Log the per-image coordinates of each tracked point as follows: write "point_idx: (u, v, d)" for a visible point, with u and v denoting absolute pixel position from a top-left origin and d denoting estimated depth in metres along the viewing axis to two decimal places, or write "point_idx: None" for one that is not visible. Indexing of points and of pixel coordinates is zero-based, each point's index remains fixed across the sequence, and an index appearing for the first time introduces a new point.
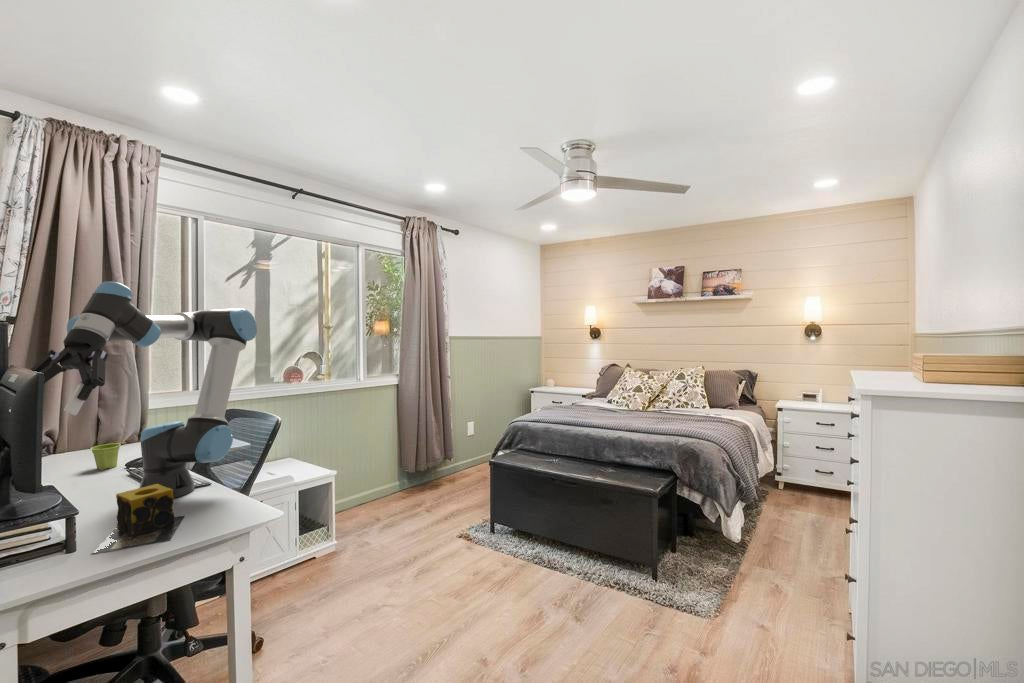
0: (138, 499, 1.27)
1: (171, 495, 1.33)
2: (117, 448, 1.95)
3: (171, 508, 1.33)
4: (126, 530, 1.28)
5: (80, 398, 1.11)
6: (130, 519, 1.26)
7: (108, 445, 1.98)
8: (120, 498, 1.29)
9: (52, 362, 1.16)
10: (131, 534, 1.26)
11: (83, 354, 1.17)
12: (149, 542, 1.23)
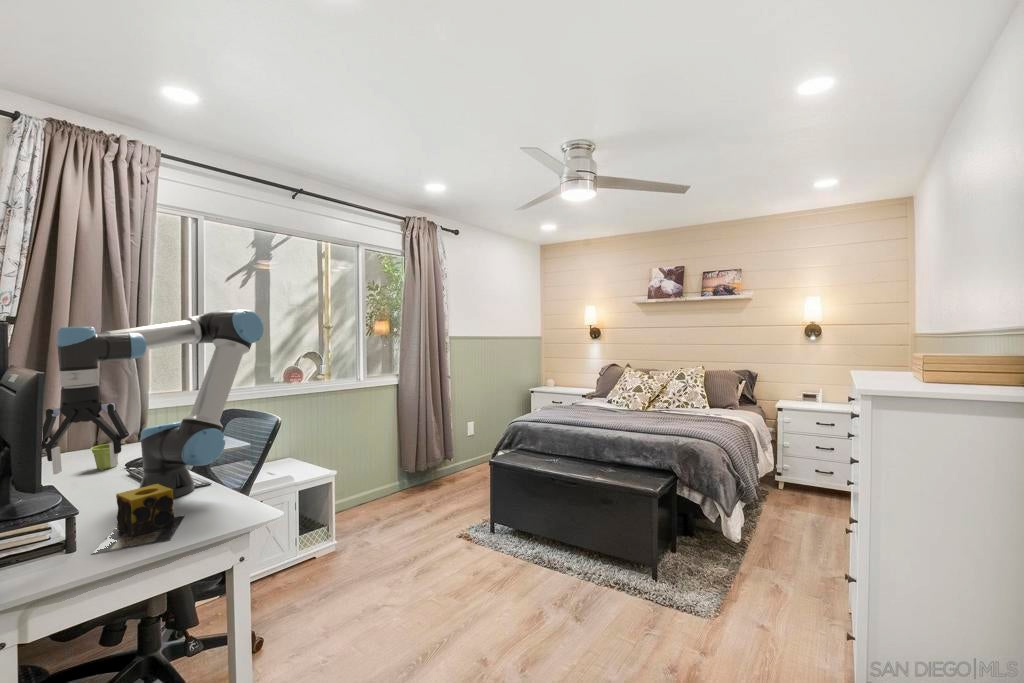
0: (138, 499, 1.27)
1: (171, 495, 1.33)
2: None
3: (171, 508, 1.33)
4: (126, 530, 1.28)
5: None
6: (130, 519, 1.26)
7: (108, 445, 1.98)
8: (120, 498, 1.29)
9: (65, 422, 1.24)
10: (131, 534, 1.26)
11: (94, 409, 1.26)
12: (149, 542, 1.23)
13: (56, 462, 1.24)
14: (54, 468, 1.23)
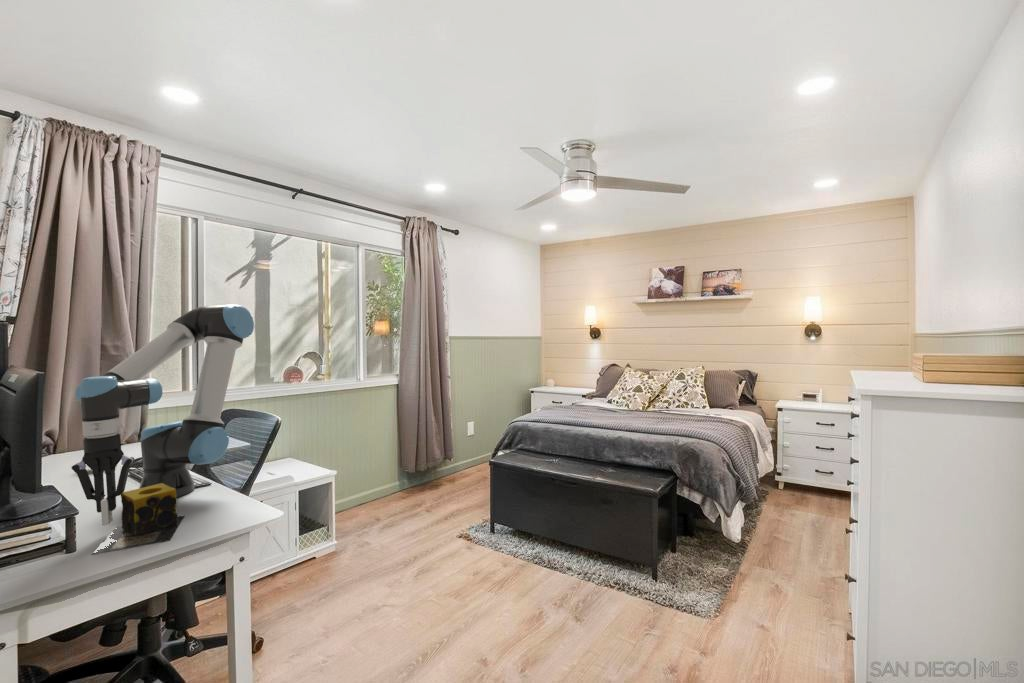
0: (141, 499, 1.27)
1: (174, 495, 1.33)
2: None
3: (174, 508, 1.33)
4: (130, 529, 1.29)
5: None
6: (133, 518, 1.27)
7: None
8: (124, 497, 1.30)
9: (95, 473, 1.26)
10: (134, 533, 1.27)
11: (113, 457, 1.28)
12: (149, 542, 1.23)
13: (105, 513, 1.28)
14: (103, 519, 1.28)
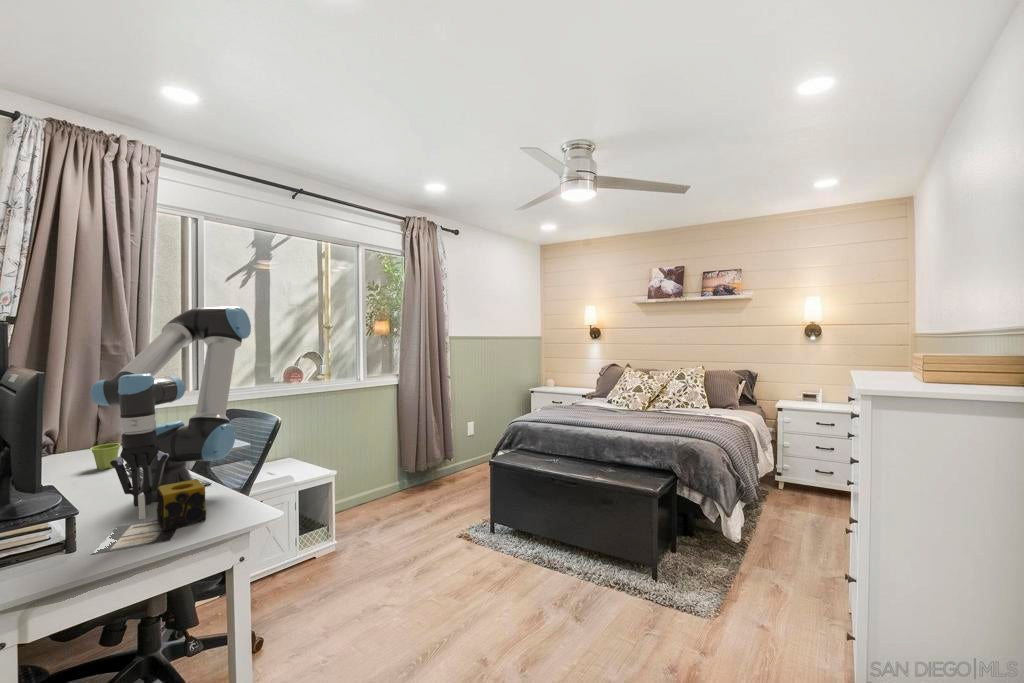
0: (170, 494, 1.30)
1: (203, 492, 1.35)
2: (117, 448, 1.95)
3: (203, 505, 1.35)
4: (161, 523, 1.32)
5: None
6: (163, 513, 1.30)
7: (108, 445, 1.98)
8: (158, 491, 1.34)
9: (133, 468, 1.30)
10: (163, 528, 1.29)
11: (150, 453, 1.31)
12: (149, 542, 1.23)
13: (142, 507, 1.31)
14: (140, 513, 1.31)
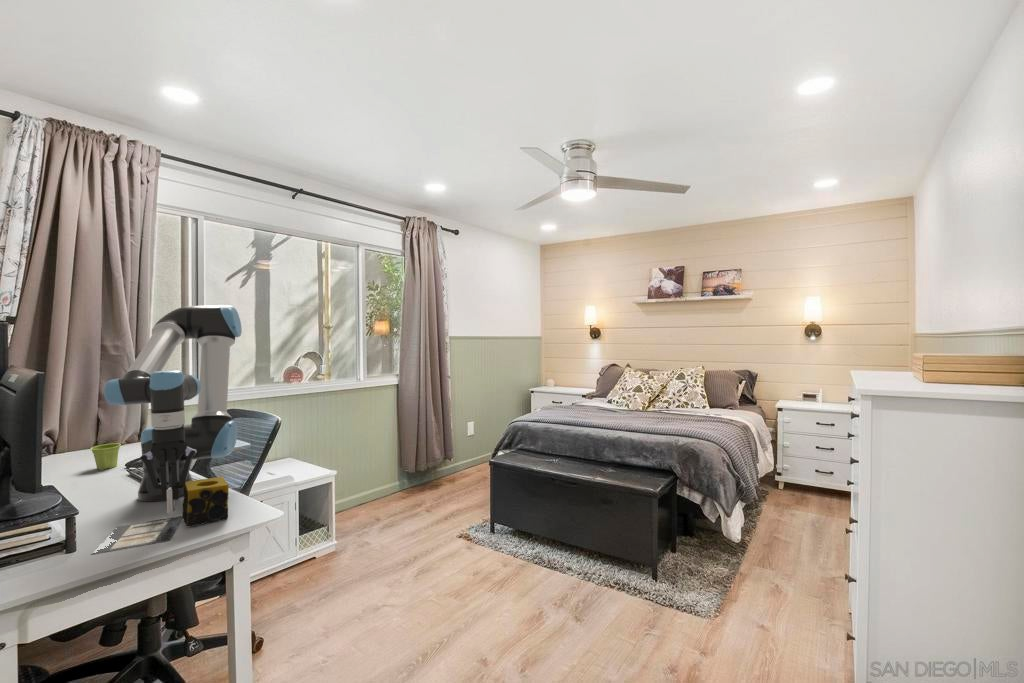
0: (195, 490, 1.31)
1: (226, 490, 1.36)
2: (117, 448, 1.95)
3: (226, 503, 1.36)
4: (185, 518, 1.34)
5: None
6: (187, 508, 1.31)
7: (108, 445, 1.98)
8: (184, 486, 1.36)
9: (162, 463, 1.32)
10: (186, 523, 1.31)
11: (179, 448, 1.34)
12: (149, 542, 1.23)
13: (170, 502, 1.33)
14: (168, 508, 1.33)
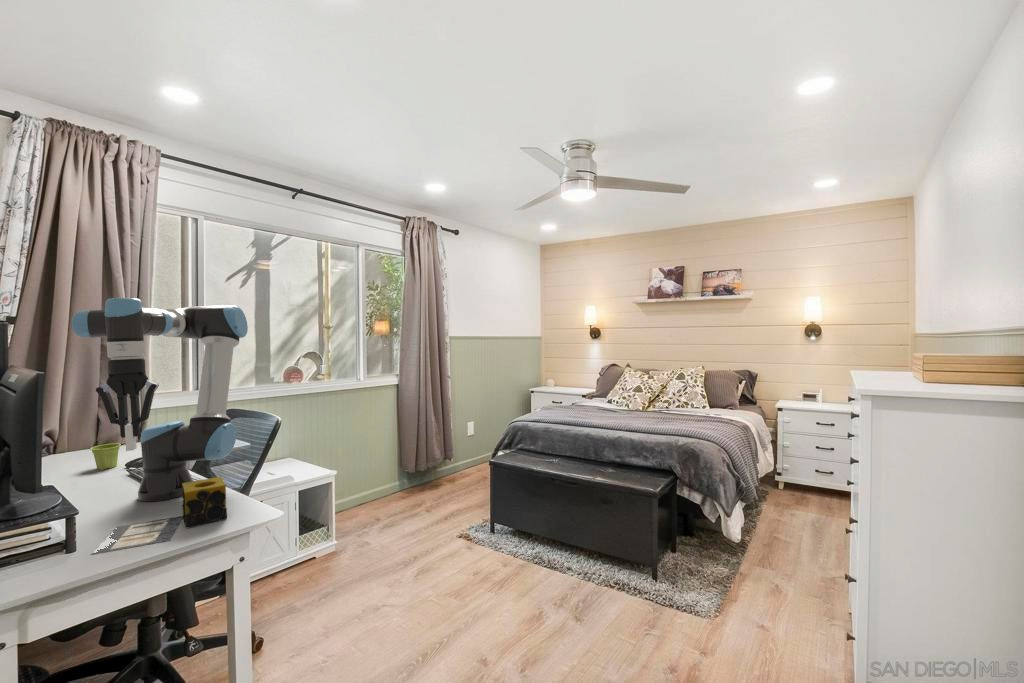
0: (191, 492, 1.31)
1: (224, 490, 1.36)
2: (117, 448, 1.95)
3: (224, 503, 1.36)
4: (185, 519, 1.34)
5: None
6: (185, 510, 1.31)
7: (108, 445, 1.98)
8: (183, 488, 1.36)
9: (119, 396, 1.23)
10: (185, 525, 1.31)
11: (138, 381, 1.25)
12: (149, 542, 1.23)
13: (129, 439, 1.24)
14: (127, 444, 1.24)
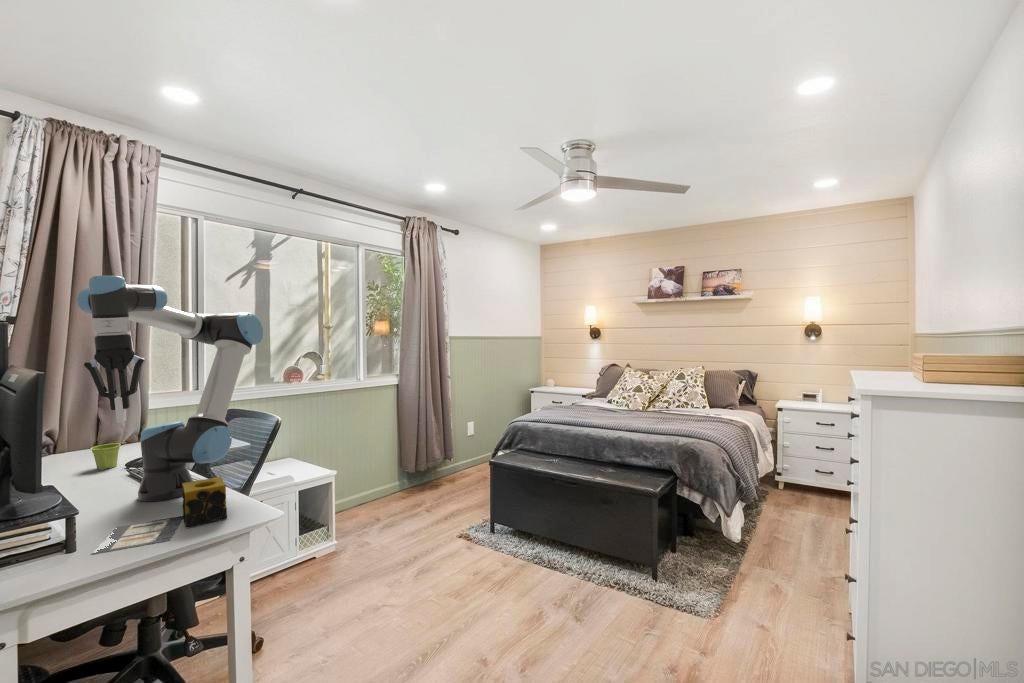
0: (191, 492, 1.31)
1: (224, 490, 1.36)
2: (117, 448, 1.95)
3: (224, 503, 1.36)
4: (185, 519, 1.34)
5: None
6: (185, 510, 1.31)
7: (108, 445, 1.98)
8: (183, 488, 1.36)
9: (108, 370, 1.28)
10: (185, 525, 1.31)
11: (125, 356, 1.30)
12: (149, 542, 1.23)
13: (119, 411, 1.30)
14: (117, 416, 1.30)
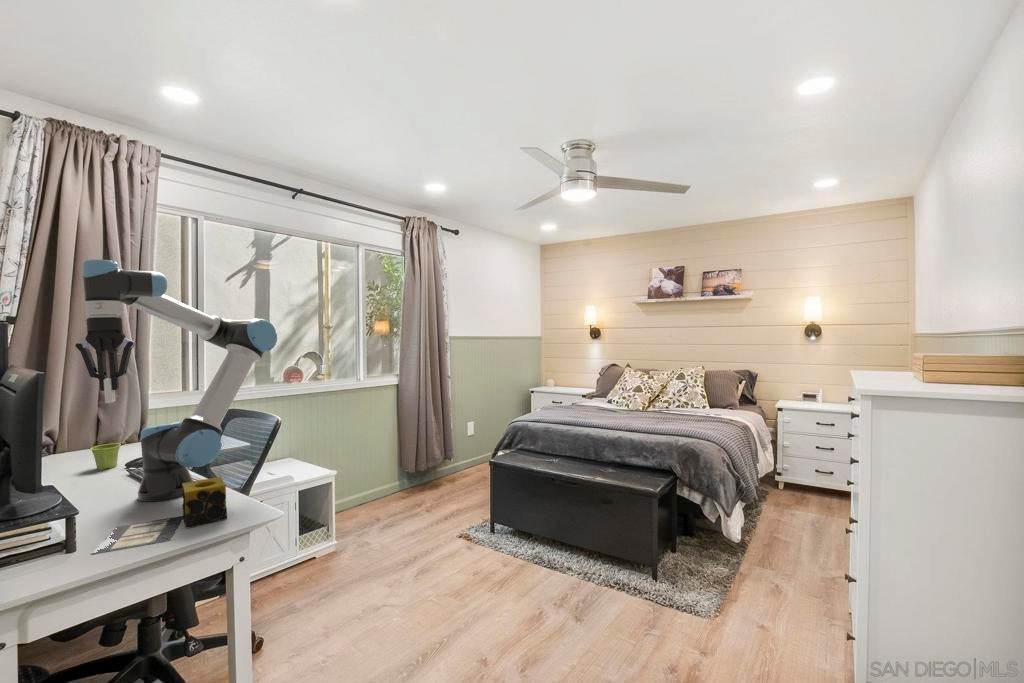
0: (191, 492, 1.31)
1: (224, 490, 1.36)
2: (117, 448, 1.95)
3: (224, 503, 1.36)
4: (185, 519, 1.34)
5: (115, 389, 1.34)
6: (185, 510, 1.31)
7: (108, 445, 1.98)
8: (183, 488, 1.36)
9: (98, 352, 1.32)
10: (185, 525, 1.31)
11: (115, 338, 1.34)
12: (149, 542, 1.23)
13: (108, 392, 1.33)
14: (106, 397, 1.33)
